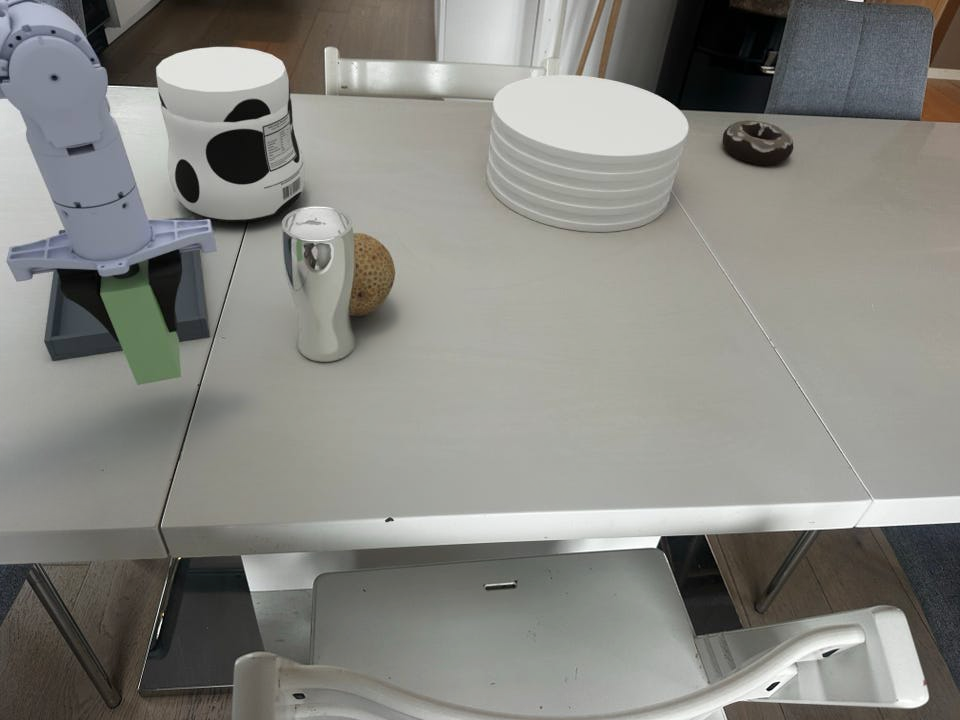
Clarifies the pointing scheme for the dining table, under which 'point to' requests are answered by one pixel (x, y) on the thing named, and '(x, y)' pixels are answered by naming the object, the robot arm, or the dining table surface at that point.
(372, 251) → the natural sponge
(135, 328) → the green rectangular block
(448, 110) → the dining table surface
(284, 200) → the milk container
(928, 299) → the dining table surface
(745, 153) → the donut
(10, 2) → the robot arm
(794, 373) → the dining table surface
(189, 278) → the dark grey tray
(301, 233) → the beer glass
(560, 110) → the plate stack
